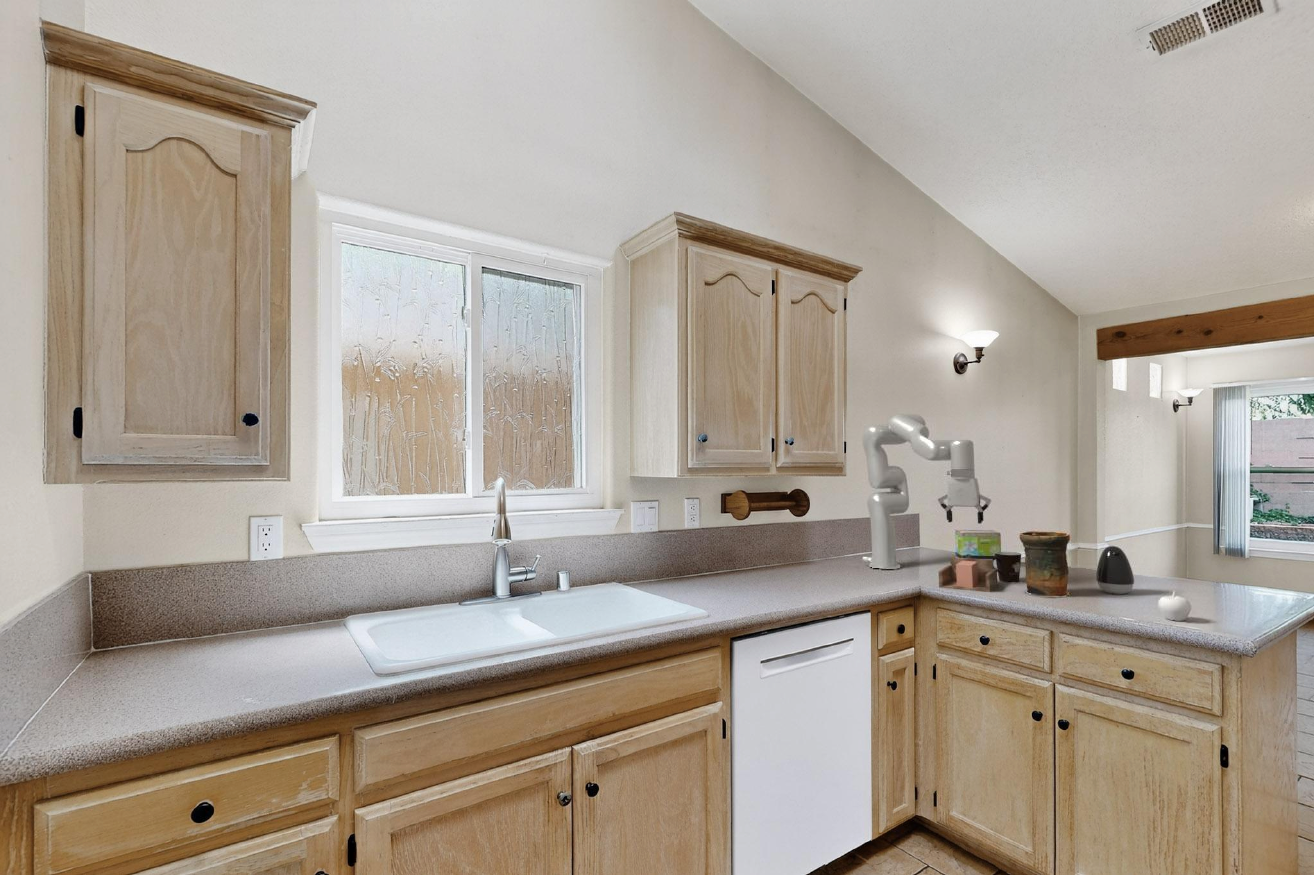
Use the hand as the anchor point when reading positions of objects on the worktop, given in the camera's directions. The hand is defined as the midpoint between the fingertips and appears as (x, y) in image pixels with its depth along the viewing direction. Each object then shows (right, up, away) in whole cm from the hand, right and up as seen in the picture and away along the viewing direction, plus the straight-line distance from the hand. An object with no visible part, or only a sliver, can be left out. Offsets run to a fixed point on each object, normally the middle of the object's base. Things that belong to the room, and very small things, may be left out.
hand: (964, 522), depth 225 cm
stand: (+1, -22, -1) cm, 22 cm away
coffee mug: (+18, -22, +6) cm, 29 cm away
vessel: (+19, -21, -16) cm, 33 cm away
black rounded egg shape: (+41, -21, -18) cm, 49 cm away
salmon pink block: (0, -22, -1) cm, 22 cm away
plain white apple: (+32, -20, -52) cm, 64 cm away
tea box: (+24, -24, +38) cm, 51 cm away
